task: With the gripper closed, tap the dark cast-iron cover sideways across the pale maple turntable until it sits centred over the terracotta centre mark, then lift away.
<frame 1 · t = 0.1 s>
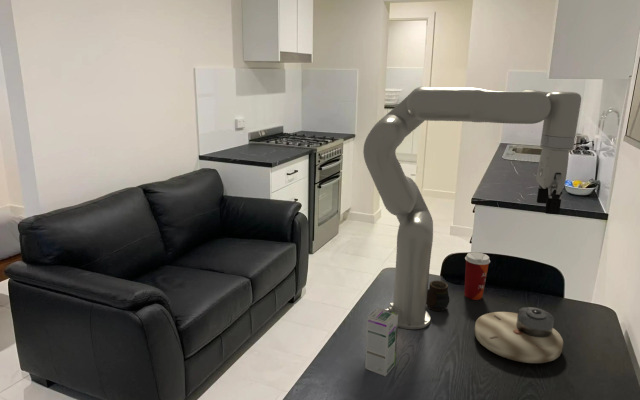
hand: (547, 208, 124), 37 cm above the table, tool pointing down, fingers open, 9 cm apart
mate gourd: (436, 308, 148), on the table
paper cup: (473, 296, 157), on the table
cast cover: (533, 328, 131), point 4 cm above the table, touching turntable
syrup box: (379, 367, 119), on the table
turntable: (517, 335, 129), point 3 cm above the table, hinge at 0.0°, touching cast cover
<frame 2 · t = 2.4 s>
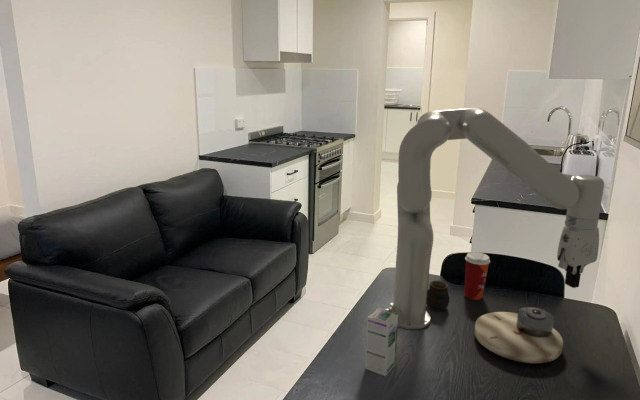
hand: (571, 285, 132), 15 cm above the table, tool pointing down, fingers closed
nothing on the table moved.
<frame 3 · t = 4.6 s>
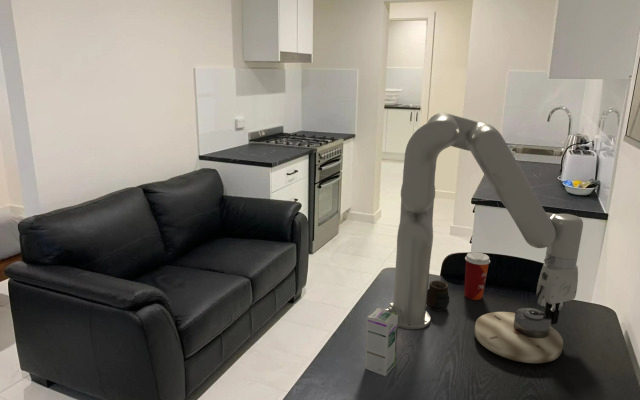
hand: (550, 321, 133), 5 cm above the table, tool pointing down, fingers closed
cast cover: (531, 329, 131), point 4 cm above the table, touching gripper, turntable
everything else where it was.
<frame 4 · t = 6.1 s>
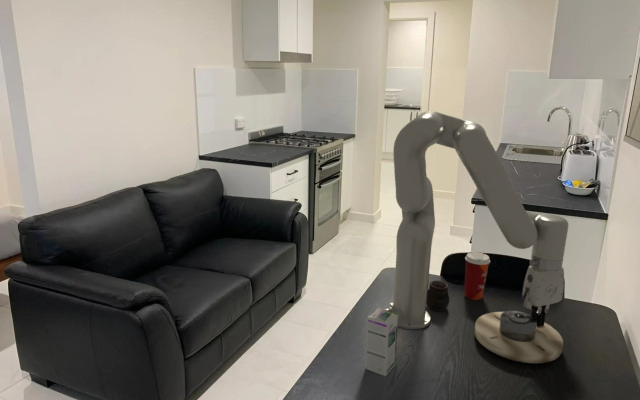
hand: (536, 324, 131), 5 cm above the table, tool pointing down, fingers closed
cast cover: (516, 332, 129), point 4 cm above the table, touching gripper, turntable
everything else where it was.
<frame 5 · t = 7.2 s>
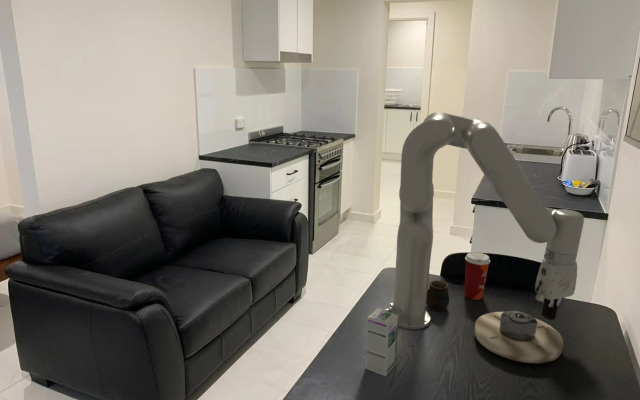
hand: (548, 317, 132), 6 cm above the table, tool pointing down, fingers closed
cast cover: (516, 332, 129), point 4 cm above the table, touching turntable
everything else where it was.
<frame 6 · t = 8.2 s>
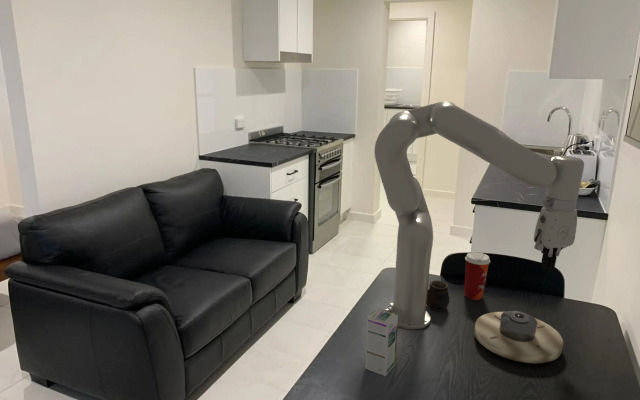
hand: (547, 268, 130), 20 cm above the table, tool pointing down, fingers closed
nothing on the table moved.
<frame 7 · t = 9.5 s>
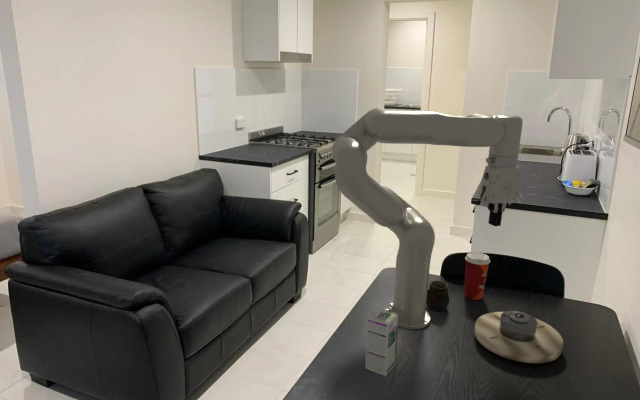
hand: (494, 224, 136), 29 cm above the table, tool pointing down, fingers closed
nothing on the table moved.
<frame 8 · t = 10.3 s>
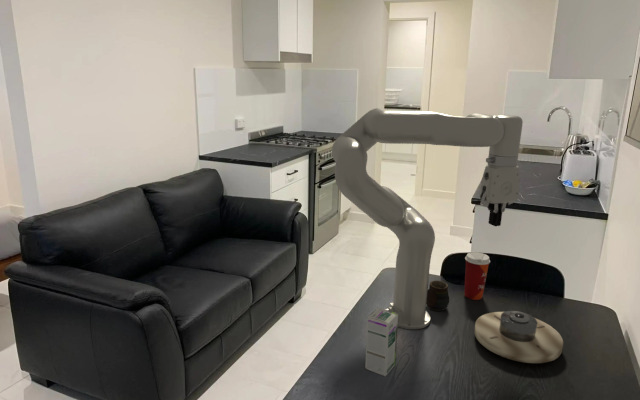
hand: (494, 224, 136), 29 cm above the table, tool pointing down, fingers closed
nothing on the table moved.
at the end: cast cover 0.5 cm from the turntable (horizontally); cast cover tilted 0°; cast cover touching turntable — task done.
